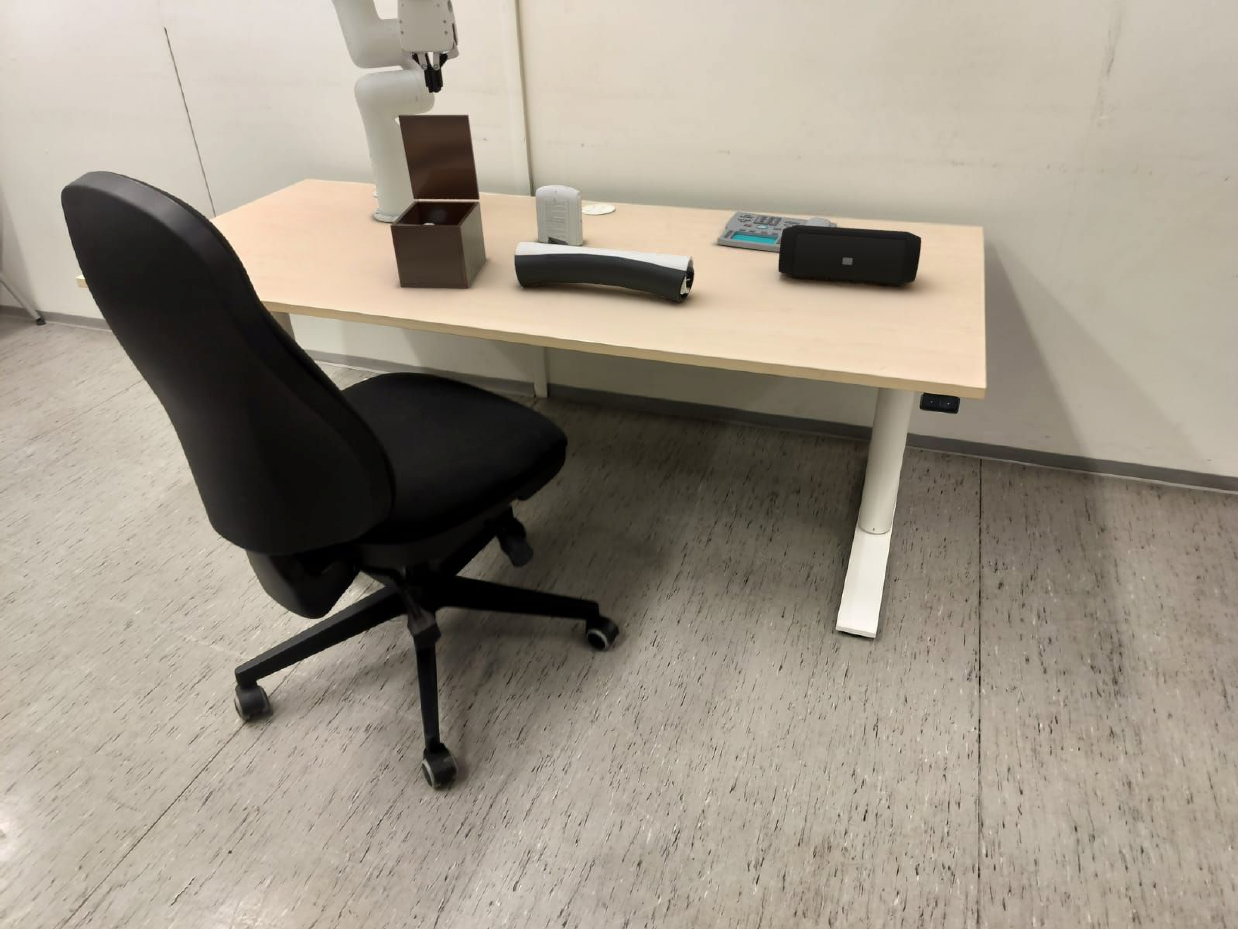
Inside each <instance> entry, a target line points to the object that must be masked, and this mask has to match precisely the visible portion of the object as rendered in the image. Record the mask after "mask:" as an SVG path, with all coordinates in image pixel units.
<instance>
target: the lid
mask: <svg viewBox="0 0 1238 929" xmlns="http://www.w3.org/2000/svg"><path fill="white" fill-rule="evenodd" d="M469 116H470V115H469V114H414V115H399V116H398V117H397V118H398V122H399V123H398V124H399V125H400V128H401V134H402V139H403V144H404V150H405V155H406V161H407V166H408V171H409V177H410V182H411V188H412V193H413V198H414V199H419V200H453V201H463V200H464V201H479V200H480V198H481V197H480V191H479V183H478V182H479V181H478V175H477V168H476V167H477V166H476V161H475V160H476V159H475V153H474V147H473V137H472V130H471V124H470V123H471V122H470V117H469Z"/></svg>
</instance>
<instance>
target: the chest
mask: <svg viewBox="0 0 1238 929" xmlns="http://www.w3.org/2000/svg"><path fill="white" fill-rule="evenodd" d="M482 220H483V218H482V210H481V201H479V200H464V201H463V200H419V201H414V202H413V203H412V204H411V205H410V206H409V207H408V208H407V209H406V210H405V211H404V212H403V213H402V214H401V215H400V216H399V217H398V218H397V219H396V220H395V221H394V222H391V224H390V226H389V227H390V231H391V232H390V233H391V238H392V239H391V240H392V244H393V250H394V255H395V256H394V257H395V261H396V268H397V274H398V278H399V284H400V288H426V289H427V288H431V289H434V288H435V289H469V288H470V286H471V284H472V283H473V281H474V280H475V278H476V277H477V275H478V274H479V272H480V270H481V269H482V267H483V265H484V264H485V262H486V261H487V255H486V247H485V238H484V237H485V236H484V230H483V221H482ZM426 223H432V224H434V225H424V224H426Z"/></svg>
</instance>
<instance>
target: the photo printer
mask: <svg viewBox="0 0 1238 929" xmlns="http://www.w3.org/2000/svg"><path fill="white" fill-rule="evenodd" d="M535 191H536V192H535V212H536V213H535V214H536V228H537V240H538V243H544V244H548V237H552V238H555V239H559V240H562V241H566V243H567V244H568V245H569V246H578V247H581V245H583V244H584V231H583V230H584V228H583V202H582V201H583V200H582V199H583V198H582V194H581V191H579V190H578V189H576V188H574V187H570V186H566V185H561V184H549V185H544V186H540V187H538V188H537V189H536V190H535Z"/></svg>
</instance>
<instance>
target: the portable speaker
mask: <svg viewBox="0 0 1238 929" xmlns="http://www.w3.org/2000/svg"><path fill="white" fill-rule="evenodd" d="M921 250H922V237H921V236H919V235H917V234H914V233H912V232H909V231H903V230H888V229H873V228H872V229H871V228H856V227H855V228H854V227H840V226H837V227H824V226H808V225H795V226H791V227H788V228H785V229H783V232H782V237H781V243H780V252H778V253H779V254H778V263H777V264H778V265H777V266H778V269H777V270H778V272H779V273H781V274H783V275H785V276H787V277H789V278H792V279H800V280H812V281H825V282H838V283H849V284H850V283H851V284H852V283H853V284H865V285H877V286H878V285H880V286H893V287H895V286H896V287H898V286H902V285H906V284H909V283H913V282H915V281H916V279H917V276H918V275H917V274H918V270H919V265H920V257H921Z"/></svg>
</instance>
